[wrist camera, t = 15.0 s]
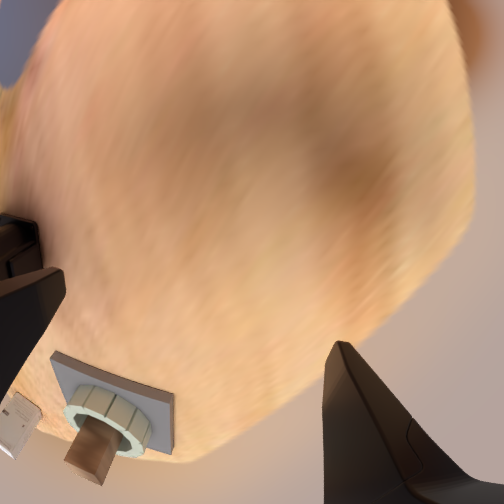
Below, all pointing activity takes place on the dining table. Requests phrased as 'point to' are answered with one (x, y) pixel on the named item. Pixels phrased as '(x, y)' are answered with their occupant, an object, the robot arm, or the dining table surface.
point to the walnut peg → (93, 450)
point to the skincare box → (17, 424)
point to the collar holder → (116, 406)
